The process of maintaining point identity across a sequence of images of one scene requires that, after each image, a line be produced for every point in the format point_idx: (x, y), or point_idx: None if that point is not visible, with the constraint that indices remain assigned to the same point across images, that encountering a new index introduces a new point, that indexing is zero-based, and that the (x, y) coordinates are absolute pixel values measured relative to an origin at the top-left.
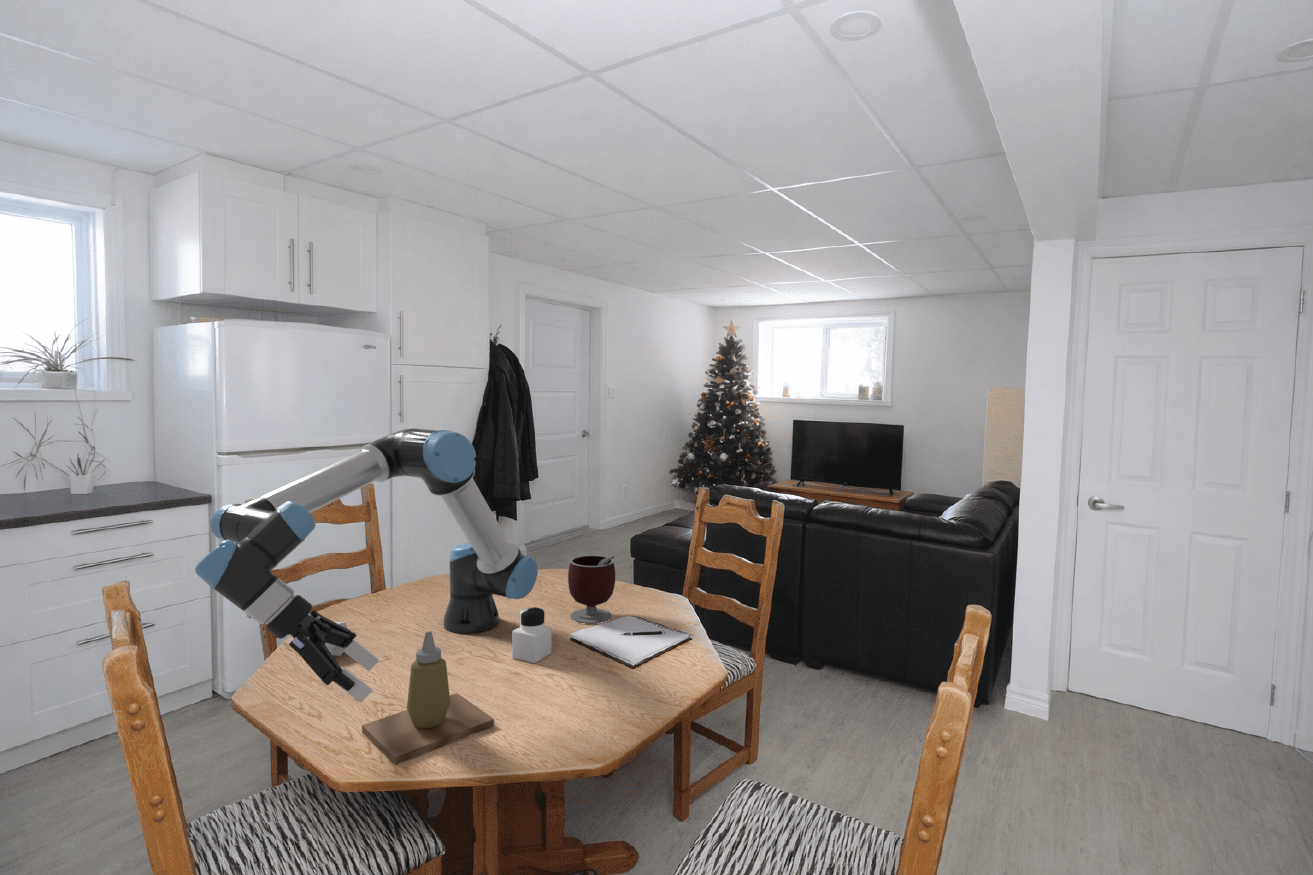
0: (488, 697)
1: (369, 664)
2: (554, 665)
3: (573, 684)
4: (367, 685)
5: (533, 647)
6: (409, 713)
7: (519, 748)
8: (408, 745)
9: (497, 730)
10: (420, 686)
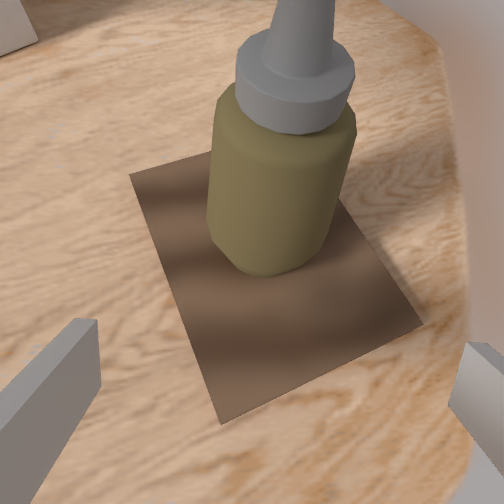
0: (155, 132)
1: (88, 376)
2: (70, 21)
3: (172, 17)
4: (489, 362)
5: (15, 2)
6: (282, 271)
7: (380, 120)
8: (372, 292)
9: None
10: (338, 188)
